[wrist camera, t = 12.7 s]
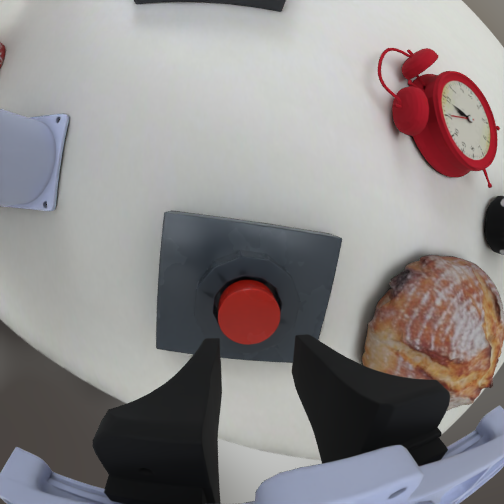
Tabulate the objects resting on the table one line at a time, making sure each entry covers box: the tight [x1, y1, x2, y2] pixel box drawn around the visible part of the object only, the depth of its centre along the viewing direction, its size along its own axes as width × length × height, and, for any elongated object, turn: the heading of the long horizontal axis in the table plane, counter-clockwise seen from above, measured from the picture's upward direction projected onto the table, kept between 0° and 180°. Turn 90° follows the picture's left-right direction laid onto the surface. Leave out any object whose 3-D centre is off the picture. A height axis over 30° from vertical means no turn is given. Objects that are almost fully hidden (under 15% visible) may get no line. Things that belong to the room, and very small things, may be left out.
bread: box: [362, 255, 504, 411], centre depth 19 cm, size 16×20×10 cm
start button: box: [218, 280, 280, 345], centre depth 16 cm, size 4×4×2 cm
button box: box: [156, 211, 342, 363], centre depth 19 cm, size 12×10×4 cm
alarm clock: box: [378, 48, 500, 188], centre depth 17 cm, size 10×6×15 cm
